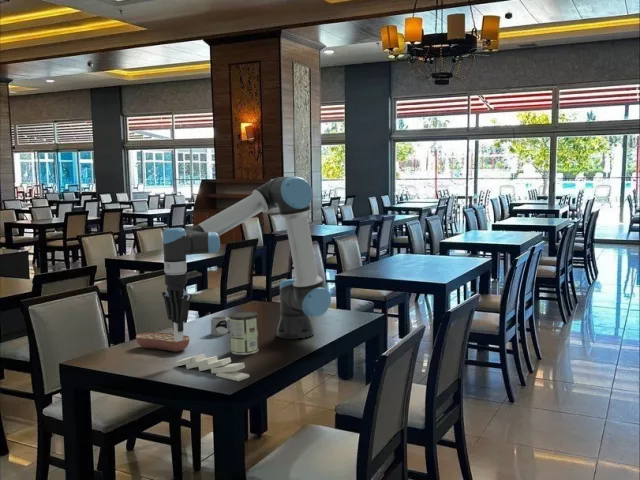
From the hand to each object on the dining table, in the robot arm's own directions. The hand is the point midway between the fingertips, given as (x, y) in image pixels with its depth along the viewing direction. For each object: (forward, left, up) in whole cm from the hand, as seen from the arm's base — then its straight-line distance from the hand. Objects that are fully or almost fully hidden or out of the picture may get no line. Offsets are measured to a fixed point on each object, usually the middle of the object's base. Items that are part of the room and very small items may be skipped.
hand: (178, 340), depth 219 cm
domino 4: (-15, +8, -8) cm, 19 cm away
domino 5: (-18, +10, -9) cm, 22 cm away
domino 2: (-5, +3, -8) cm, 10 cm away
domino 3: (-10, +6, -8) cm, 14 cm away
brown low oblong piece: (+13, -19, -9) cm, 25 cm away
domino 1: (0, +1, -8) cm, 8 cm away
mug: (-3, -44, -9) cm, 45 cm away
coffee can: (-19, -18, -9) cm, 27 cm away
